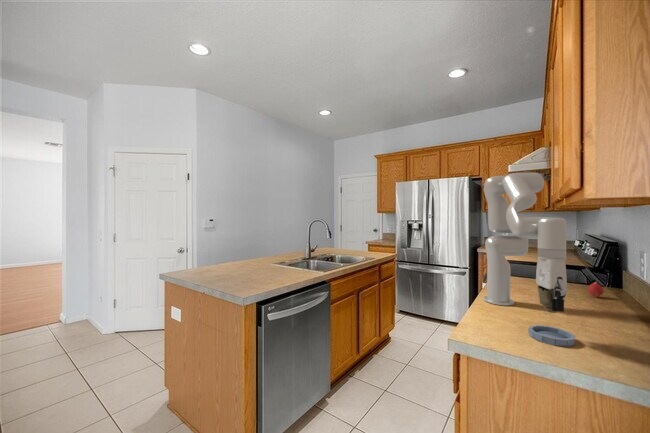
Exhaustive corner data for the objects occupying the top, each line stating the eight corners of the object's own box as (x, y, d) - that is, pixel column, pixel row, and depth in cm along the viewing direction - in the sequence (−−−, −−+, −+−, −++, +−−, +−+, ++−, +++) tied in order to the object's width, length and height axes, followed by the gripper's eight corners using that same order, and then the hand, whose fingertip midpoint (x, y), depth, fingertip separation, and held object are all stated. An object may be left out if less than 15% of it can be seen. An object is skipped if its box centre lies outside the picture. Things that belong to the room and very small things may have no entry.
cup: (546, 314, 91) (546, 290, 91) (532, 307, 99) (532, 284, 99) (571, 316, 90) (571, 291, 90) (556, 308, 98) (556, 285, 98)
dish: (522, 329, 102) (522, 323, 102) (561, 333, 99) (562, 327, 99) (539, 344, 90) (539, 337, 90) (583, 348, 87) (583, 341, 87)
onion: (584, 296, 146) (584, 280, 146) (593, 295, 147) (593, 280, 147) (597, 299, 141) (597, 283, 141) (606, 298, 142) (606, 282, 142)
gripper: (527, 251, 104) (527, 299, 104) (552, 257, 87) (552, 315, 87) (550, 251, 102) (550, 301, 102) (581, 258, 85) (581, 317, 85)
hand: (551, 307), depth 95 cm, fingers closed on cup, 6 cm apart
